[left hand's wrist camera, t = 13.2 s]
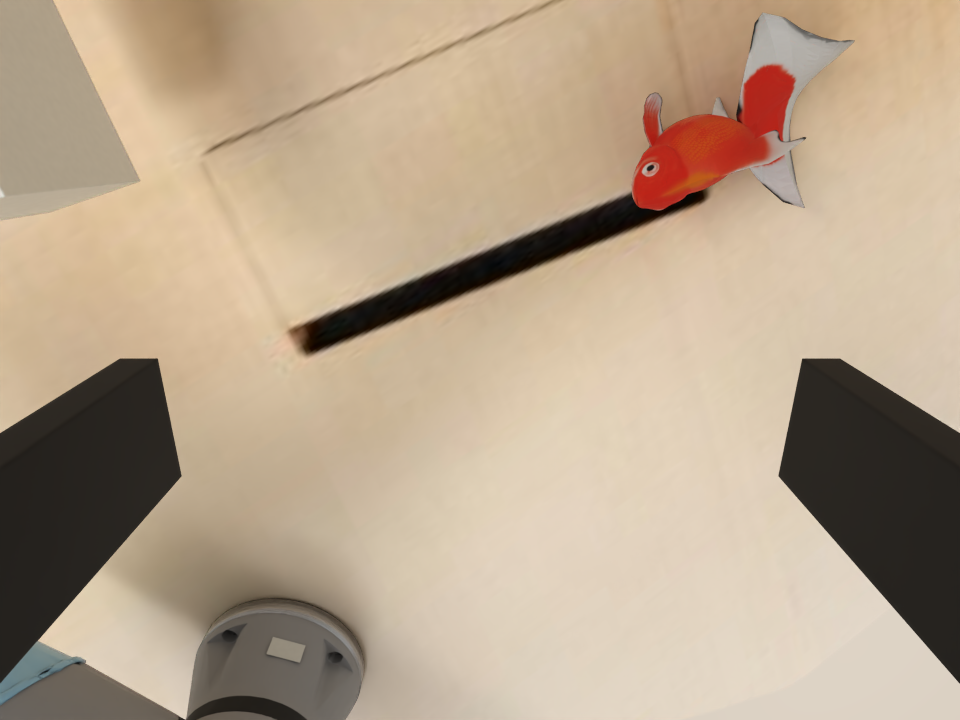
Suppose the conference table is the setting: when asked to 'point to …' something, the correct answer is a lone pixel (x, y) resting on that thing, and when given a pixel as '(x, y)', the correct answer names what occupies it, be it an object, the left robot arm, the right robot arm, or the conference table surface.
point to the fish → (737, 123)
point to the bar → (51, 118)
